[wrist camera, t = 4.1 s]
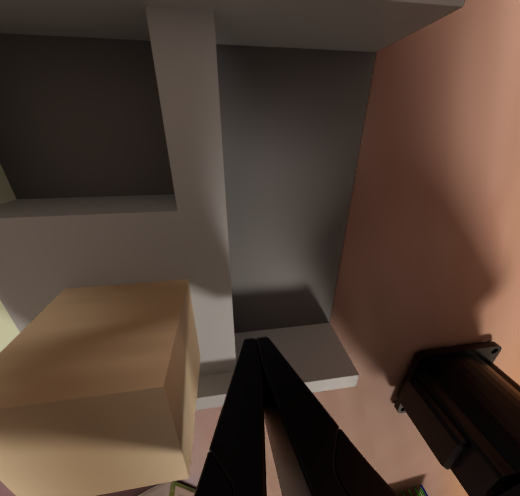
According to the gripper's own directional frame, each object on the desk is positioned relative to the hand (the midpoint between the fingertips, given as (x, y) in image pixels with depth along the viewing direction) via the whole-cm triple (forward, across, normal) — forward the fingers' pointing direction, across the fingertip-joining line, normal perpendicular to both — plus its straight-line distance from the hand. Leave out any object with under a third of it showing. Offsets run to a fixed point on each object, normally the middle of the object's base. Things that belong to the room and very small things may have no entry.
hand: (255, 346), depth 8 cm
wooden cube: (+2, +4, 0) cm, 4 cm away
